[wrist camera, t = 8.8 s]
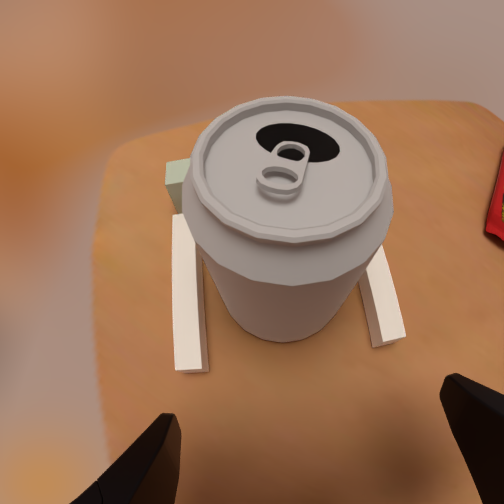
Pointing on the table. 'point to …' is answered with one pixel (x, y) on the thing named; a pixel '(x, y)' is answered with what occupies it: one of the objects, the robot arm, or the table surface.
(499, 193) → the candy bar
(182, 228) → the set of pale bars
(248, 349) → the table surface
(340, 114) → the can
